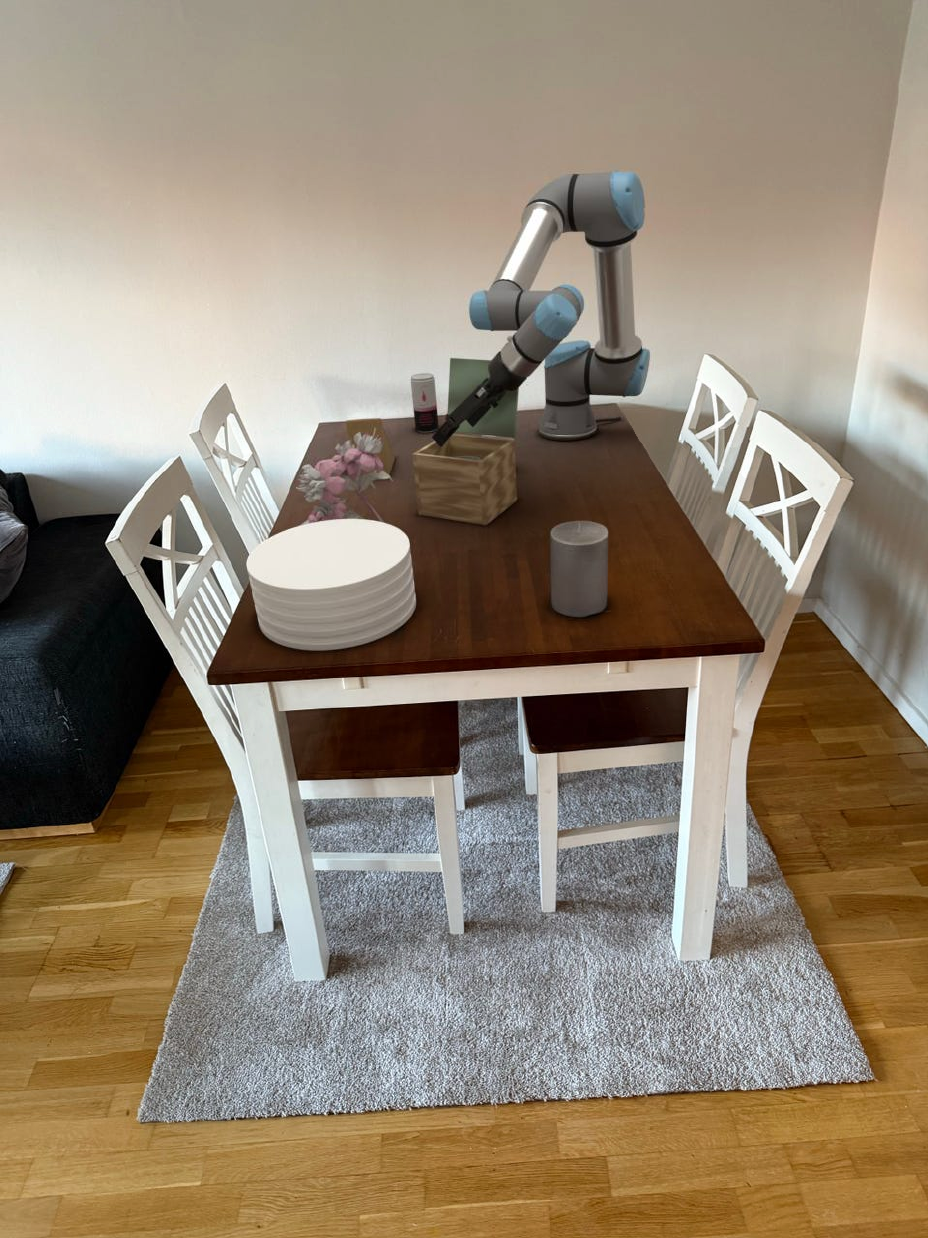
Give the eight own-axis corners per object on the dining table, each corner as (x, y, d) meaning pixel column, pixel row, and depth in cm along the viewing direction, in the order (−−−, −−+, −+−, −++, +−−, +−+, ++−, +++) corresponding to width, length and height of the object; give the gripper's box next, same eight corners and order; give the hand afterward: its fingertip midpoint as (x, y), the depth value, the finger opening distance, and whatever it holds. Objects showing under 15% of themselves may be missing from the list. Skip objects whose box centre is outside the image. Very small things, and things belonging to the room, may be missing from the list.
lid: (519, 361, 182) (520, 361, 183) (450, 357, 190) (451, 357, 190) (513, 438, 186) (515, 437, 187) (446, 430, 194) (448, 430, 195)
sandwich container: (396, 457, 225) (389, 399, 218) (388, 478, 212) (381, 418, 204) (363, 458, 226) (356, 401, 218) (353, 479, 212) (345, 419, 205)
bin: (486, 525, 183) (482, 462, 176) (418, 514, 191) (412, 453, 184) (517, 500, 194) (514, 439, 187) (452, 491, 201) (447, 432, 195)
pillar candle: (560, 588, 156) (559, 510, 149) (613, 595, 153) (615, 515, 145) (543, 613, 148) (541, 533, 141) (599, 621, 145) (600, 539, 137)
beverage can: (441, 426, 246) (436, 372, 239) (435, 433, 240) (430, 378, 233) (419, 425, 247) (414, 372, 240) (412, 433, 242) (407, 379, 235)
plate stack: (417, 641, 143) (410, 580, 137) (248, 658, 142) (234, 596, 137) (414, 567, 167) (408, 512, 162) (269, 581, 167) (258, 526, 161)
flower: (370, 501, 195) (309, 413, 179) (437, 514, 180) (376, 420, 164) (313, 565, 188) (244, 480, 173) (377, 585, 173) (308, 494, 157)
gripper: (529, 334, 178) (470, 401, 192) (470, 365, 160) (410, 436, 174) (553, 362, 178) (492, 427, 192) (497, 396, 160) (434, 464, 174)
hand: (453, 431), depth 183 cm, fingers open, 13 cm apart
